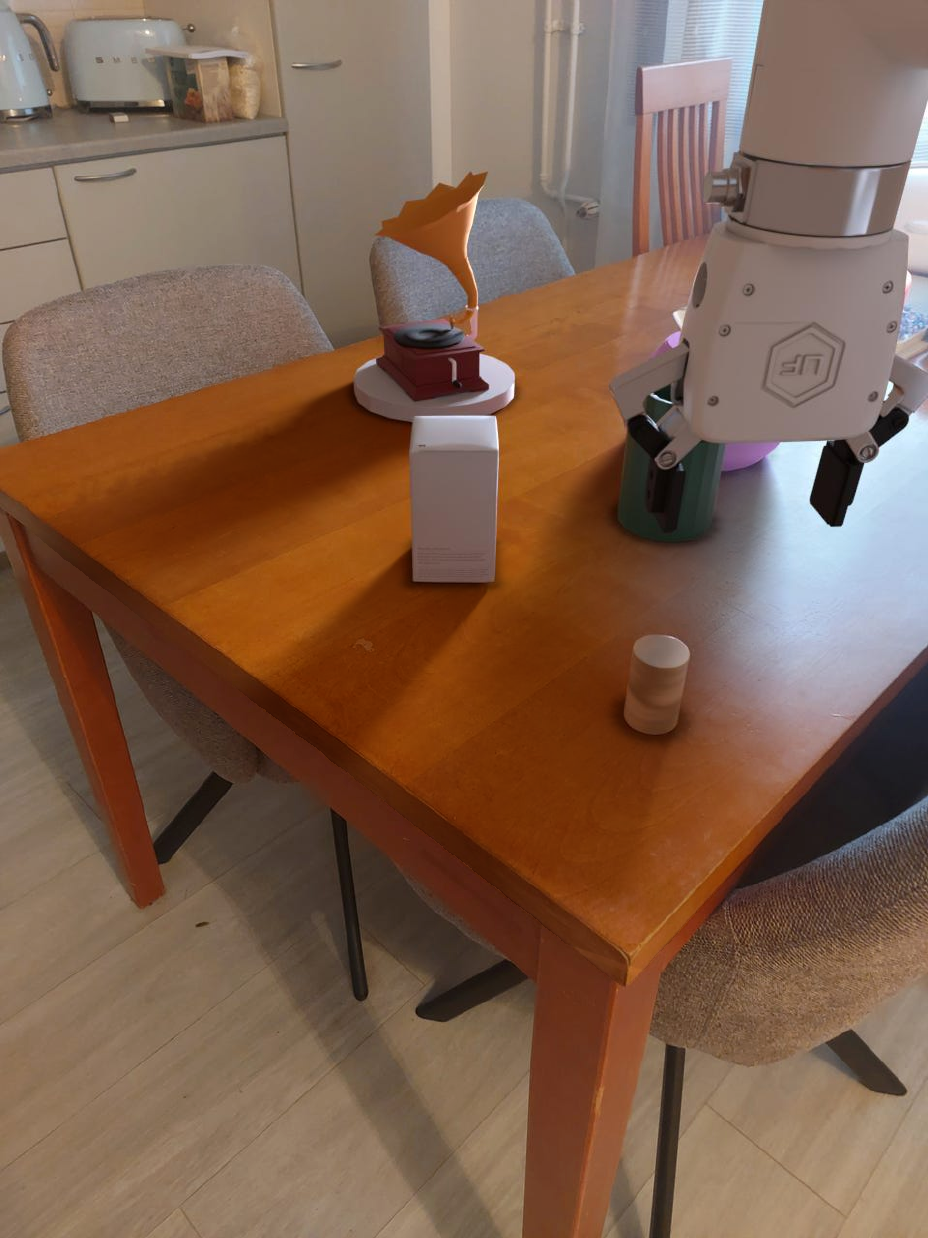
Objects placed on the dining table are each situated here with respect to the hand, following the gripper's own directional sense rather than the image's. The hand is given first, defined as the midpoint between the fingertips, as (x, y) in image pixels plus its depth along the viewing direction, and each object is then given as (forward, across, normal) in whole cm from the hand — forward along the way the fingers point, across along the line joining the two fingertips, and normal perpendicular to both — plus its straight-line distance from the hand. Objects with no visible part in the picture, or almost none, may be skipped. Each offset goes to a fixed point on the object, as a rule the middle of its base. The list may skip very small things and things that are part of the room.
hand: (744, 518), depth 52 cm
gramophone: (+18, -14, +66) cm, 70 cm away
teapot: (+18, +15, +49) cm, 54 cm away
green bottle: (+18, +6, +31) cm, 36 cm away
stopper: (+18, -3, +3) cm, 18 cm away
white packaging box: (+18, -15, +24) cm, 34 cm away
